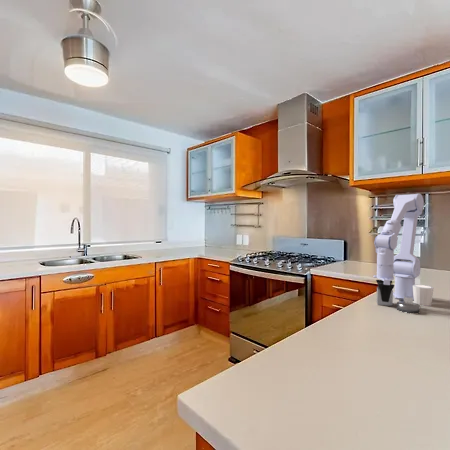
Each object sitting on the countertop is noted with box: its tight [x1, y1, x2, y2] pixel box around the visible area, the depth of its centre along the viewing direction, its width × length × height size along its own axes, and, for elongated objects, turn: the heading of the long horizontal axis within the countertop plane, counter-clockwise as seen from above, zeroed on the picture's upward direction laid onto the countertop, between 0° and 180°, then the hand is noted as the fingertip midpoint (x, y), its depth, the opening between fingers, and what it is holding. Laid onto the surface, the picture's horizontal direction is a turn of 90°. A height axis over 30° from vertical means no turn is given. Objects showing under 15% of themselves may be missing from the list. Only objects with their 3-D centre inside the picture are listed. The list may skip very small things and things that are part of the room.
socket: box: [376, 286, 394, 307], centre depth 115 cm, size 5×5×6 cm
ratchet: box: [396, 296, 421, 314], centre depth 110 cm, size 14×7×5 cm, turn 157°
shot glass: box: [413, 284, 434, 307], centre depth 116 cm, size 7×7×7 cm
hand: (384, 299), depth 115 cm, fingers closed on socket, 5 cm apart
